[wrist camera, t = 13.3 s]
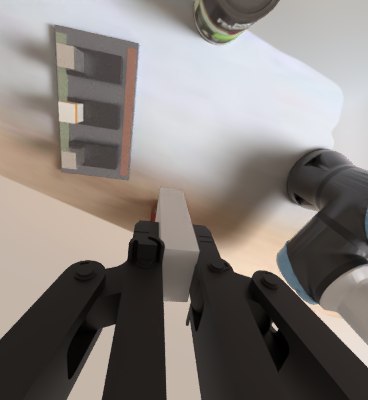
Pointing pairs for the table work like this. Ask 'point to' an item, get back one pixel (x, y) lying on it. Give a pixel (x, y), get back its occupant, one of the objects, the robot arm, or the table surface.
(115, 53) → the panel
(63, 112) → the handle
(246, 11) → the coffee can
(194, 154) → the table surface
